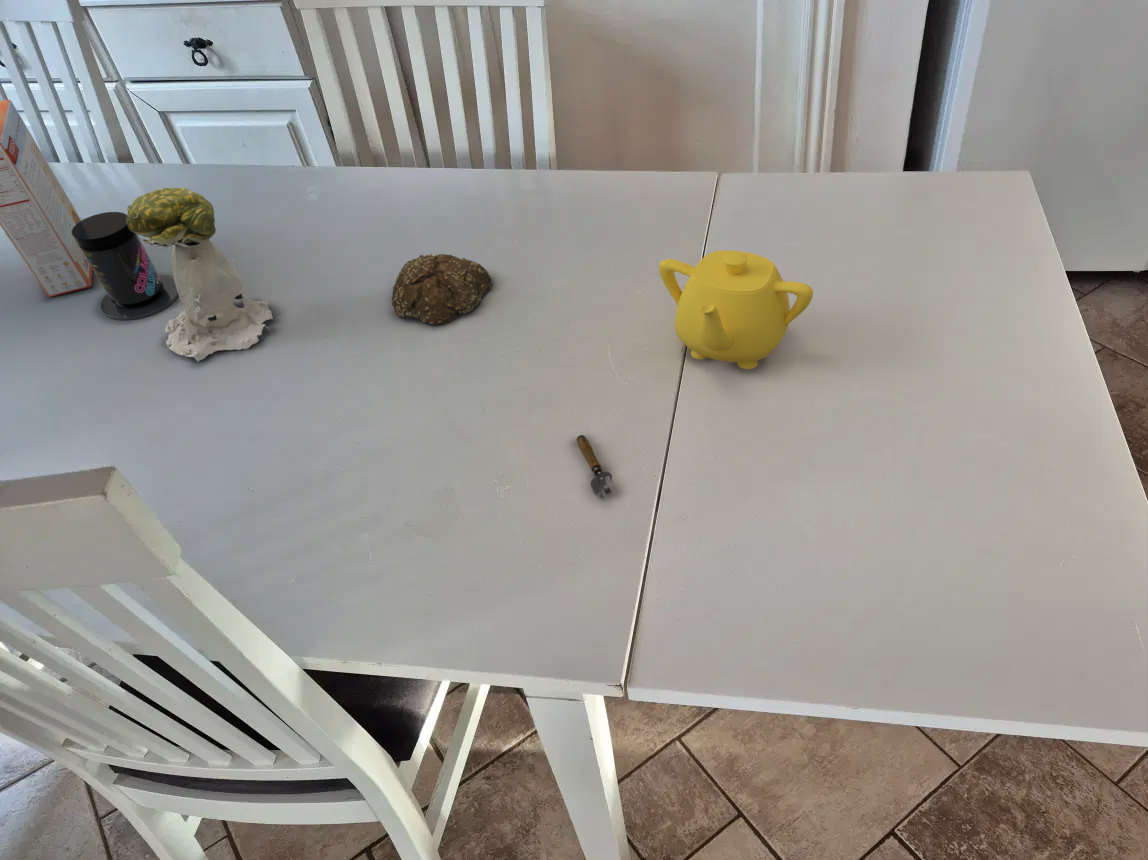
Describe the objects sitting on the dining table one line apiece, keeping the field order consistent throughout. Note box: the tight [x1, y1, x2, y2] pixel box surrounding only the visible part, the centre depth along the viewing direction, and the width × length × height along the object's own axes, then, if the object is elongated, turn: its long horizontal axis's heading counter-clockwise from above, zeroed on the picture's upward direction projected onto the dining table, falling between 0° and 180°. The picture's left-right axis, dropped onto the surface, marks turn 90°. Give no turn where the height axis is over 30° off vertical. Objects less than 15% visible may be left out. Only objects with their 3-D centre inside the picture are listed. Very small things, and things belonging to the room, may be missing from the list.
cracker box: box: [0, 99, 93, 298], centre depth 111 cm, size 14×6×21 cm, turn 23°
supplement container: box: [72, 211, 164, 308], centre depth 109 cm, size 7×7×10 cm
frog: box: [126, 187, 274, 363], centre depth 100 cm, size 12×13×18 cm
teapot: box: [658, 249, 814, 370], centre depth 96 cm, size 14×14×12 cm
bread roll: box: [391, 253, 492, 326], centre depth 108 cm, size 13×12×5 cm
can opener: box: [576, 434, 613, 499], centre depth 86 cm, size 9×2×1 cm, turn 16°
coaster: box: [100, 274, 179, 321], centre depth 113 cm, size 10×10×1 cm
